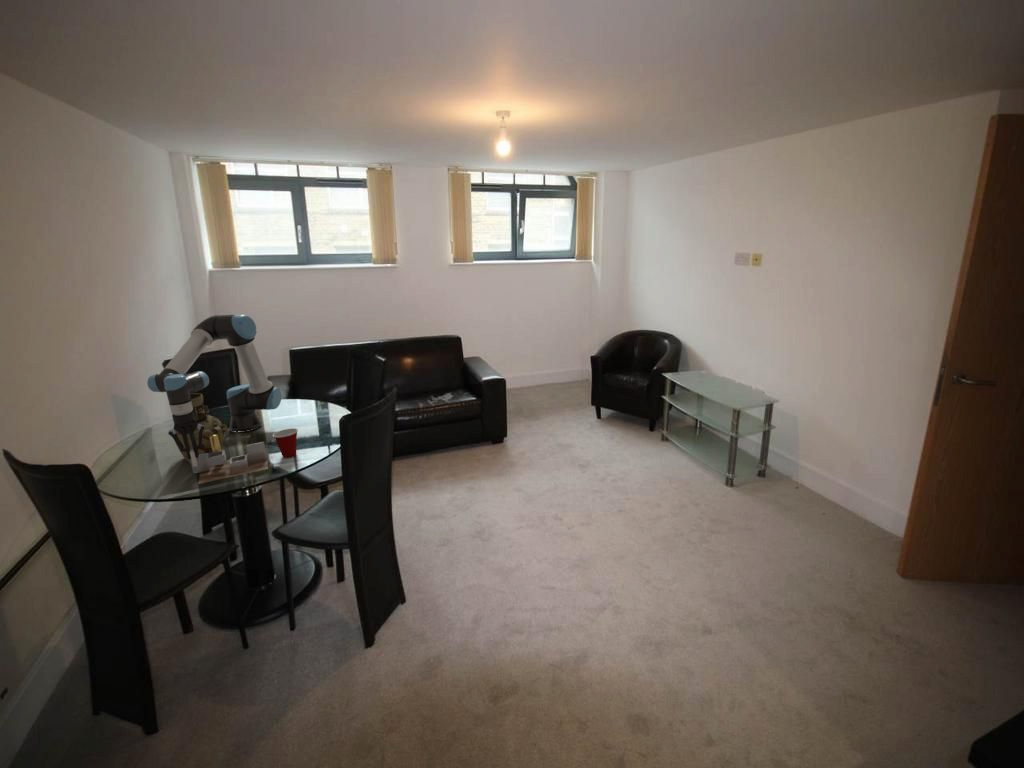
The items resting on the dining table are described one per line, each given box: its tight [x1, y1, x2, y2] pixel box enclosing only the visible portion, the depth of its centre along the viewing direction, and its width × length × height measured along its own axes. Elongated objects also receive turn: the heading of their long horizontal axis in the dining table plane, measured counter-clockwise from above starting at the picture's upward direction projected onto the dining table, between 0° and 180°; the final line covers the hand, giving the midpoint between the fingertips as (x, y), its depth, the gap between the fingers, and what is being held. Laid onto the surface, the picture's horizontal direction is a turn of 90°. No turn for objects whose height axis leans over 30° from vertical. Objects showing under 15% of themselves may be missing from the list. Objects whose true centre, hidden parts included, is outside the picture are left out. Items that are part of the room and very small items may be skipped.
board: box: [197, 451, 269, 485], centre depth 214 cm, size 20×26×1 cm
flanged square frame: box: [190, 449, 227, 474], centre depth 208 cm, size 7×13×8 cm, turn 117°
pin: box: [209, 434, 224, 466], centre depth 215 cm, size 3×3×14 cm
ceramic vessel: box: [175, 392, 229, 465], centre depth 223 cm, size 19×21×30 cm
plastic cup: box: [272, 427, 298, 459], centre depth 225 cm, size 11×11×12 cm
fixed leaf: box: [229, 441, 268, 471], centre depth 215 cm, size 7×14×8 cm, turn 118°
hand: (195, 464), depth 205 cm, fingers closed
